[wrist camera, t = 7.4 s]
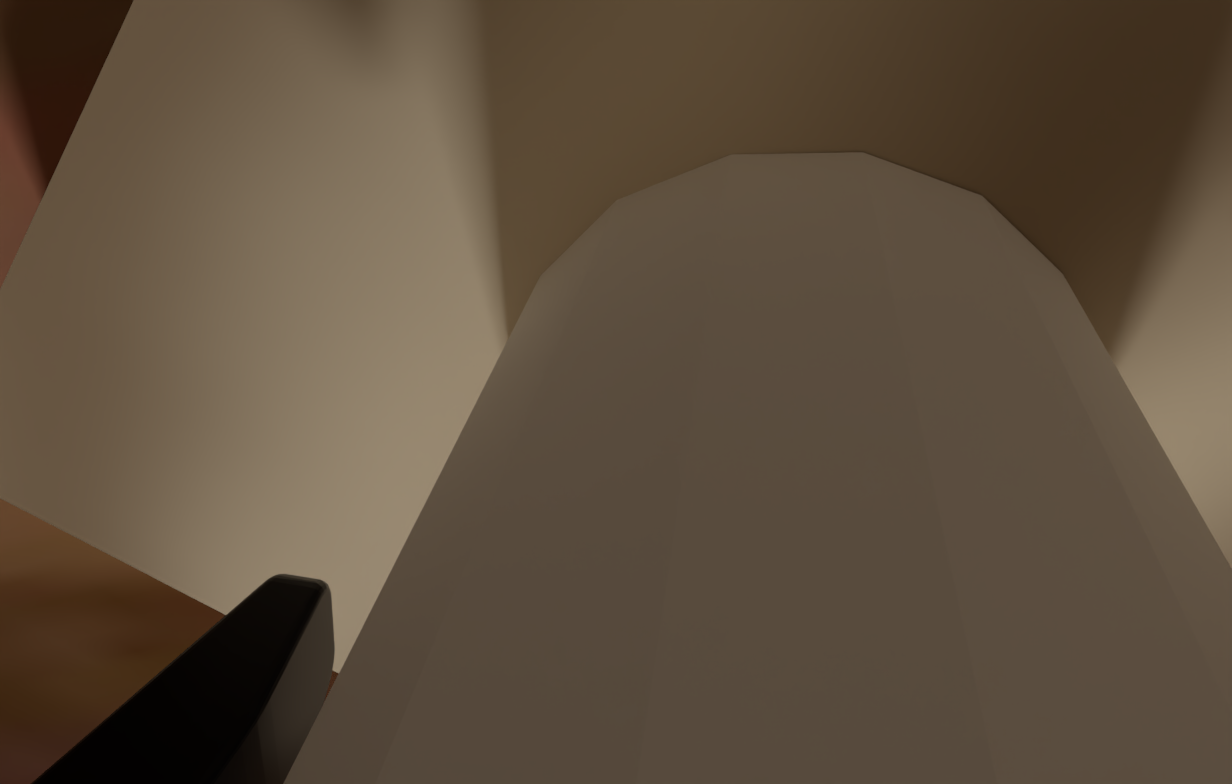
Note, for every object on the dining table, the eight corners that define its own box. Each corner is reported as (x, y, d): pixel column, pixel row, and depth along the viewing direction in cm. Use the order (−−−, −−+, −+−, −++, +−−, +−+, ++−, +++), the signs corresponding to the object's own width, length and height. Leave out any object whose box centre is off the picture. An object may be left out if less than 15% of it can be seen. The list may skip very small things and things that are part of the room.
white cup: (934, -103, 8) (1233, 675, 3) (1277, 490, 11) (1751, 1438, 6) (309, 327, 11) (-135, 1097, 6) (707, 704, 14) (659, 1451, 9)
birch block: (103, 256, 17) (-78, 458, 13) (715, -910, 9) (678, -1183, 5) (818, 684, 21) (827, 925, 17) (1650, 135, 13) (1972, 364, 10)
